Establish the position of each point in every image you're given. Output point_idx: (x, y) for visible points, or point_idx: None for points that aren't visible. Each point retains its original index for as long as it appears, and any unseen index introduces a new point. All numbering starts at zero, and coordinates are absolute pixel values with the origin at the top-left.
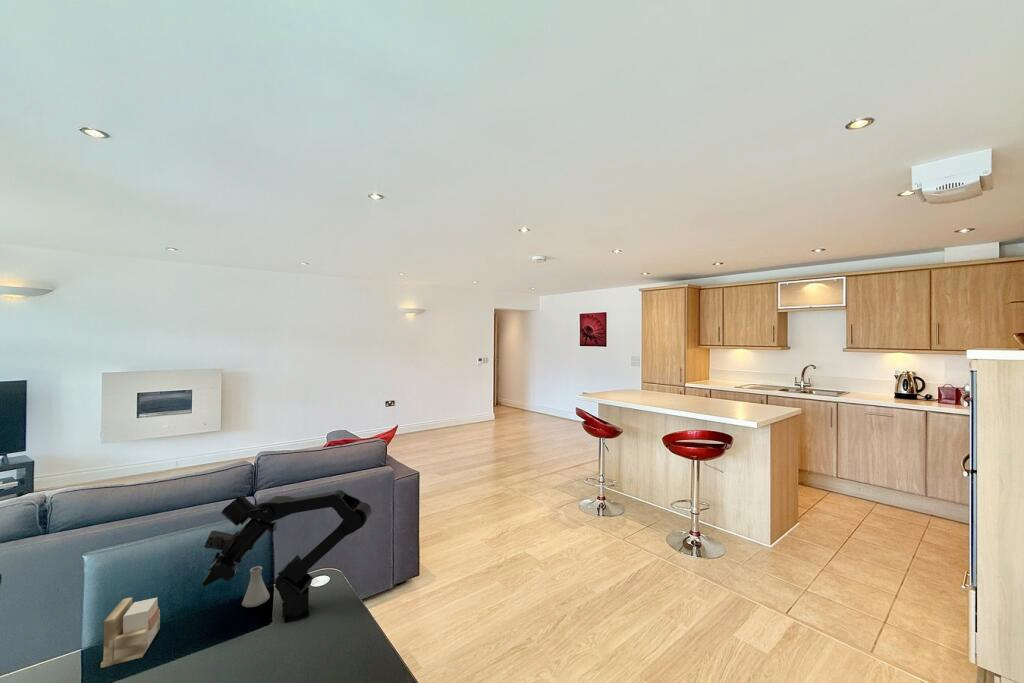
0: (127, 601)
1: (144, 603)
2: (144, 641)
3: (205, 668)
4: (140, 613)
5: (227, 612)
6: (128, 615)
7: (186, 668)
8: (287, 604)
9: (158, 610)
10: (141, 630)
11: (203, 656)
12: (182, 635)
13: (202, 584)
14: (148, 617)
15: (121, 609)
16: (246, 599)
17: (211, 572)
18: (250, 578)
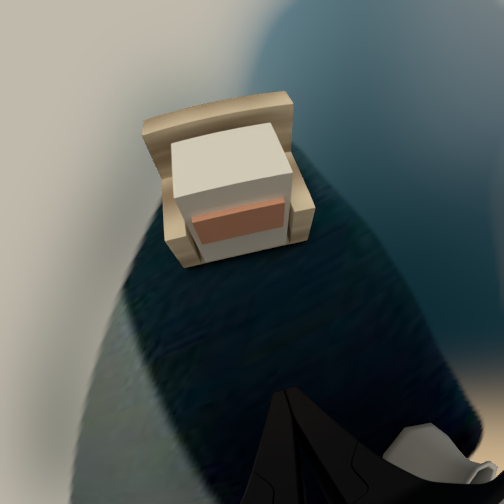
0: (263, 105)
1: (250, 153)
2: (174, 253)
3: (92, 444)
4: (173, 181)
5: (374, 405)
6: (171, 153)
7: (101, 404)
8: None
9: (281, 211)
10: (181, 223)
11: (136, 432)
12: (268, 326)
13: (271, 397)
14: (185, 214)
15: (205, 116)
16: (404, 451)
17: (245, 501)
18: (456, 464)
